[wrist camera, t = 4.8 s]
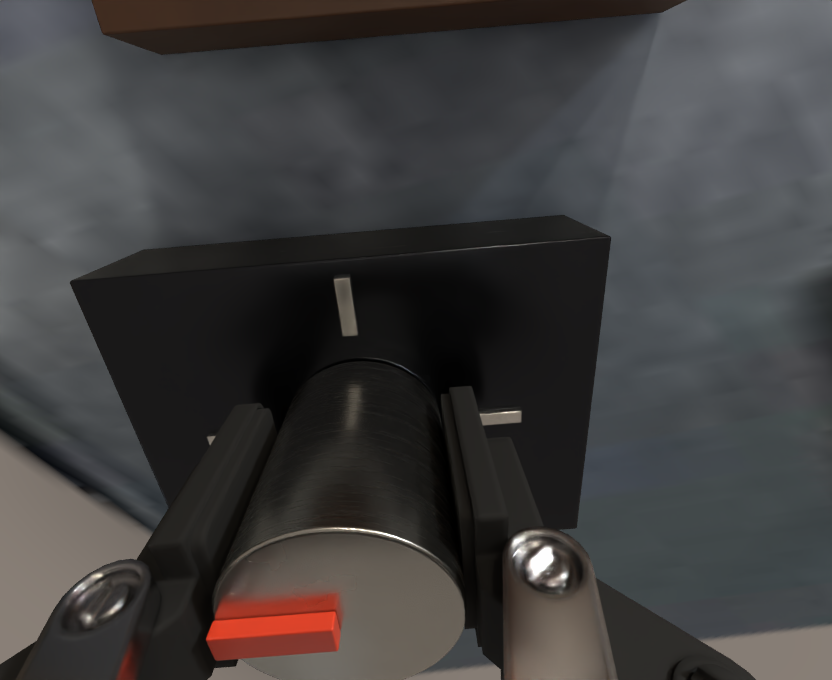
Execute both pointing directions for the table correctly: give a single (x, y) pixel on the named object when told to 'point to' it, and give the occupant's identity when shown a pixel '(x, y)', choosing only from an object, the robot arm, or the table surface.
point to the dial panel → (362, 333)
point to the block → (329, 19)
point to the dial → (347, 538)
